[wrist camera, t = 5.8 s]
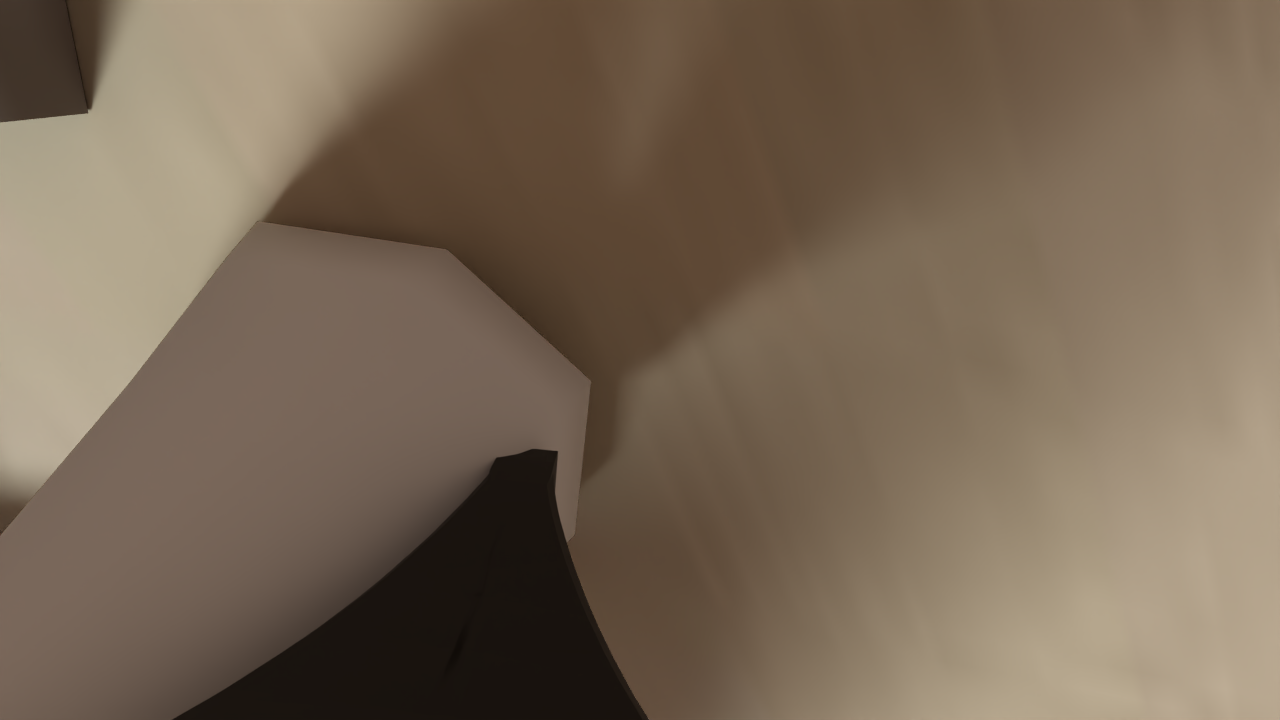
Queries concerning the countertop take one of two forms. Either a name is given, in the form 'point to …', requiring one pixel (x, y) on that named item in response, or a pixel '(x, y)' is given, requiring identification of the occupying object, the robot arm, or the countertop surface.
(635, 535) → the countertop surface
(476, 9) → the countertop surface
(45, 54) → the spice rail
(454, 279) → the flask
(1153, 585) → the countertop surface
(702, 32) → the countertop surface
